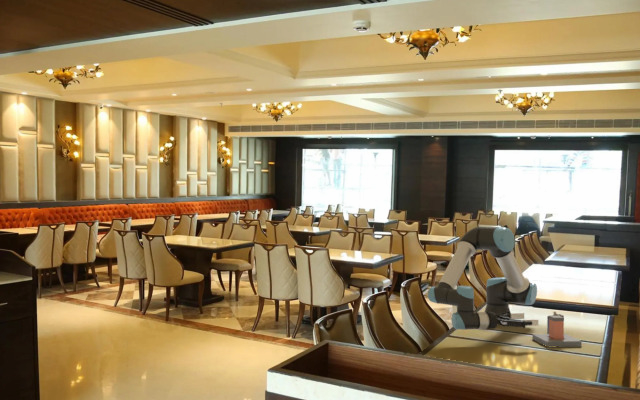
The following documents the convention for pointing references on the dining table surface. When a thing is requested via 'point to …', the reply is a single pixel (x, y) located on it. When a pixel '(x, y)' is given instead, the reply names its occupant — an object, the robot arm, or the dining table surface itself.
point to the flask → (548, 320)
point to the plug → (556, 327)
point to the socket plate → (557, 340)
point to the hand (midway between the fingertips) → (530, 319)
